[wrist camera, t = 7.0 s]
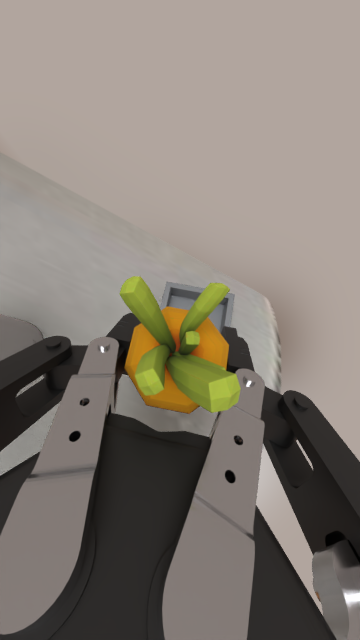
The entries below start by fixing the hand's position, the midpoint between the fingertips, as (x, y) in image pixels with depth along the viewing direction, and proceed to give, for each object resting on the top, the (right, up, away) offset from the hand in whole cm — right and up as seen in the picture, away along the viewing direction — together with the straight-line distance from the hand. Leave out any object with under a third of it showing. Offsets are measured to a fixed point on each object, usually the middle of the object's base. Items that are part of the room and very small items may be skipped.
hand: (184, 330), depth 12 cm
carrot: (-1, -4, +7) cm, 8 cm away
